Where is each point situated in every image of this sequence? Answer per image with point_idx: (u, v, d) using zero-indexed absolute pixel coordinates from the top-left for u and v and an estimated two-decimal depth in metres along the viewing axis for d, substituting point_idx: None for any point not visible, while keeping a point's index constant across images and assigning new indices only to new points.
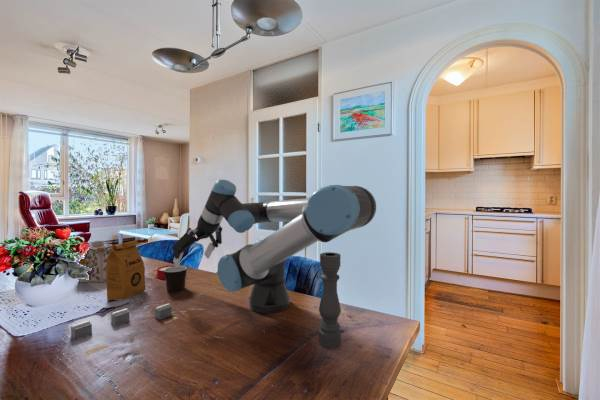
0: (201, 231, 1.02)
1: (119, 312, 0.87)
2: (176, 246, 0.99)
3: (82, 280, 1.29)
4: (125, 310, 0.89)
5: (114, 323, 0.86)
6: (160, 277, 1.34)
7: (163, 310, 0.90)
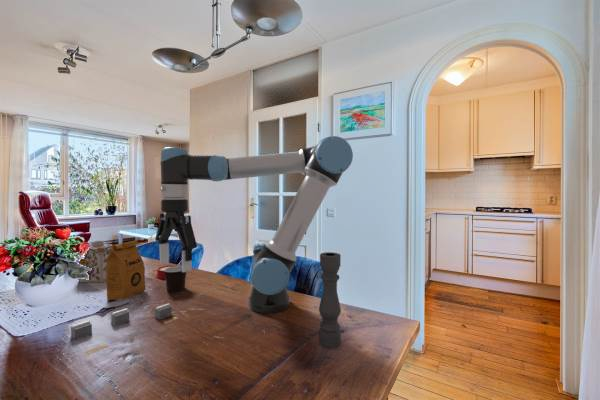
0: None
1: (119, 312, 0.87)
2: (192, 241, 0.81)
3: (82, 280, 1.29)
4: (125, 310, 0.89)
5: (114, 323, 0.86)
6: (160, 277, 1.34)
7: (163, 310, 0.90)
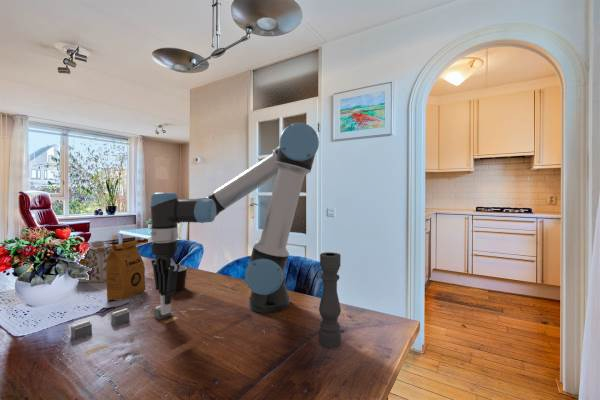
0: None
1: (119, 312, 0.87)
2: (172, 288, 0.88)
3: (82, 280, 1.29)
4: (125, 310, 0.89)
5: (114, 323, 0.86)
6: None
7: None
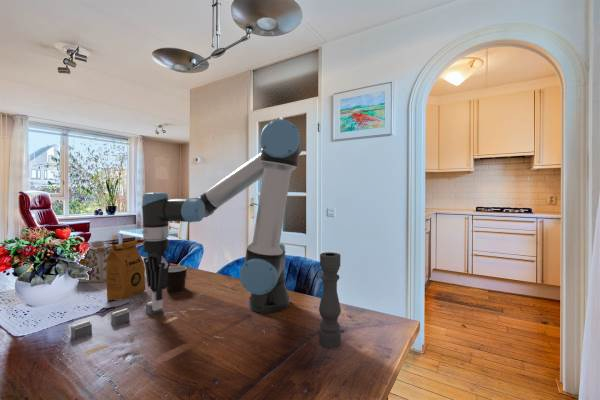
0: None
1: (119, 312, 0.87)
2: (163, 284, 0.91)
3: (82, 280, 1.29)
4: (125, 310, 0.89)
5: (114, 323, 0.86)
6: None
7: None
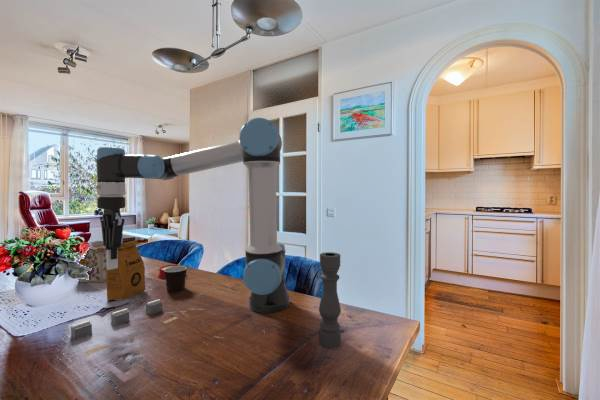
0: None
1: (119, 312, 0.87)
2: (117, 242, 0.89)
3: (82, 280, 1.29)
4: (125, 310, 0.89)
5: (114, 323, 0.86)
6: (162, 276, 1.35)
7: (154, 305, 0.94)
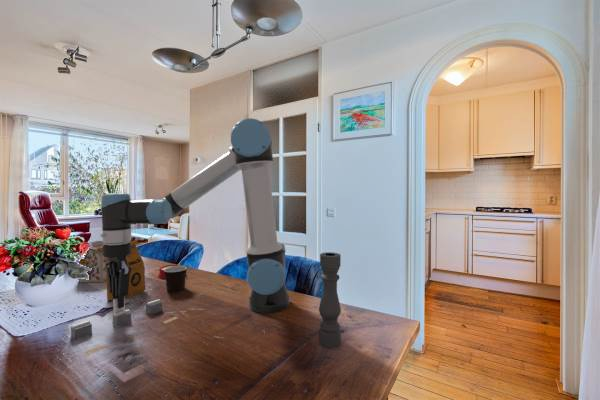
0: None
1: (121, 313, 0.87)
2: (124, 291, 0.86)
3: (82, 280, 1.29)
4: (127, 311, 0.88)
5: (116, 324, 0.85)
6: (162, 276, 1.35)
7: (154, 305, 0.94)
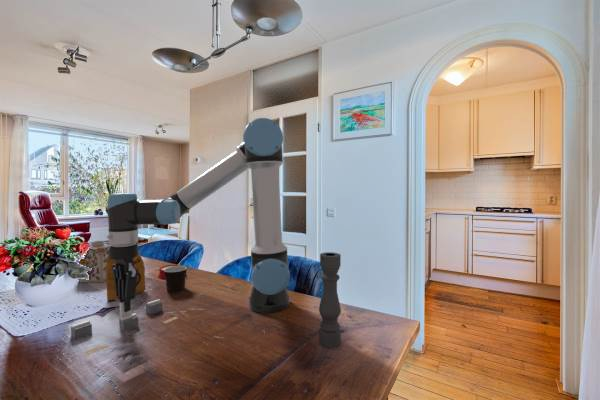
0: None
1: (128, 317, 0.84)
2: (131, 294, 0.83)
3: (82, 280, 1.29)
4: (134, 315, 0.85)
5: (123, 329, 0.82)
6: (162, 276, 1.35)
7: (154, 305, 0.94)
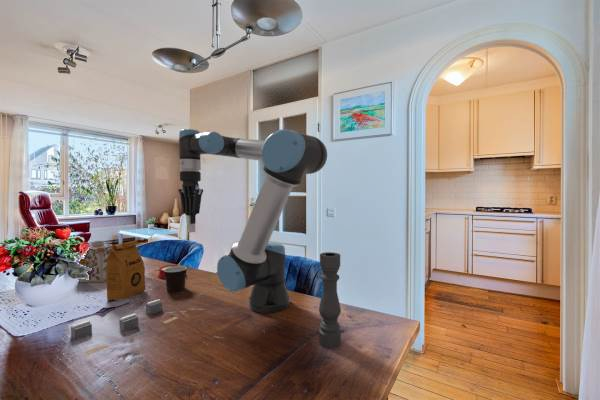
0: None
1: (128, 317, 0.84)
2: (197, 209, 1.06)
3: (82, 280, 1.29)
4: (134, 315, 0.85)
5: (123, 329, 0.82)
6: (162, 277, 1.35)
7: (154, 305, 0.94)
